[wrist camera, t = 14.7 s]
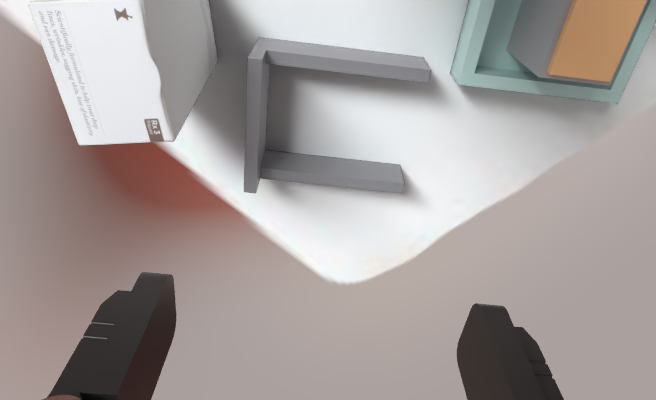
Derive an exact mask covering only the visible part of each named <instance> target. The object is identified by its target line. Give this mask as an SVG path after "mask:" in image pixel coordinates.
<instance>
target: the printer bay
mask: <svg viewBox="0 0 656 400" xmlns="http://www.w3.org/2000/svg"><path fill="white" fill-rule="evenodd" d="M270 64H274V65H282V66H291V67H299V68H307V69H316V70H324V71H332V72H341V73H349V74H358V75H366V76H374V77H383V78H391V79H399V80H408V81H416V82H424V83H428V81H429V77H430V72H431V69H430V68H429V66H428V64H427V63H426V61H425V59H424V58H423V57H416V56H408V55H400V54H392V53H384V52H375V51H367V50H359V49H351V48H343V47H335V46H326V45H318V44H310V43H302V42H294V41H286V40H278V39H269V38H261V37H259V38H258V40H257V41H256V43H255V45H254V47H253V49H252V51H251V53H250V55H249V56H248V66H247V100H246V134H245V168H244V192H249V193H256V191H257V188H258V184H259V180H260V178H262V179H272V180H281V181H291V182H300V183H310V184H319V185H329V186H338V187H348V188H357V189H367V190H376V191H386V192H395V193H402V191H403V187H404V180H403V177H402V173H401V169H400V165H398V164H389V163H380V162H371V161H361V160H352V159H343V158H334V157H325V156H315V155H306V154H297V153H288V152H279V151H269V150H265V144H266V125H267V107H268V88H269V70H270Z"/></svg>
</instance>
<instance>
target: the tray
mask: <svg viewBox="0 0 656 400" xmlns="http://www.w3.org/2000/svg"><path fill="white" fill-rule="evenodd" d="M521 2H522V0H469V2H468V6H467V9H466V13H465V17H464V21H463V25H462V29H461V33H460V37H459V40H458V44H457V48H456V52H455V56H454V60H453V64H452V68H451V71H450V74H451V75H452V76H453V78H454V79H455V81H456V82H457V84H458V85H466V86H474V87H482V88H491V89H499V90H507V91H516V92H524V93H532V94H541V95H549V96H558V97H566V98H574V99H583V100H591V101H599V102H608V103H616V104H618V101H619V99H620V97H621V95H622V93H623V91H624V88H625V86H626V84H627V82H628V80H629V78H630V75H631V73H632V71H633V69H634V67H635V65H636V62H637V60H638V58H639V56H640V54H641V52H642V50H643V47H644V45H645V43H646V41H647V39H648V37H649V34H650V32H651V30H652V28H653V26H654V24H655V21H656V0H648V1H647V3H646V5H645V7H644V10H643V12H642V14H641V16H640V18H639V21H638V23H637V25H636V27H635V30H634V32H633V34H632V36H631V39H630V41H629V43H628V45H627V48H626V50H625V52H624V54H623V56H622V59H621V61H620V63H619V65H618V68H617V70H616V72H615V74H614V77H613V79H612V81H611V83H610V86H605V85H597V84H589V83H581V82H573V81H565V80H557V79H549V78H541V77H538V76H537V75H535V74H534V73H533V72H532V71H531V70H529V69H528V68H527V67H526V66H525V65H523V64H522V63H521V62H520V61H519V60H517V59H516V58H515V57H514V56H513V55H512V54H510V53H509V52H508V51H507V50H506V49H507V46H508V43H509V40H510V36H511V33H512V30H513V27H514V24H515V21H516V17H517V14H518V11H519V8H520V5H521Z"/></svg>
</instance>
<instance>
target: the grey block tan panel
mask: <svg viewBox="0 0 656 400" xmlns="http://www.w3.org/2000/svg"><path fill="white" fill-rule="evenodd" d="M647 1H648V0H522V2H521V5H520V8H519V11H518V14H517V17H516V21H515V24H514V27H513V30H512V33H511V36H510V40H509V43H508V46H507V49H506V50H507V51H508V52H509V53H510V54H512V55H513V56H514V57H515V58H516V59H517V60H519V61H520V62H521V63H522V64H523V65H525V66H526V67H527V68H528V69H529V70H531V71H532V72H533V73H534V74H535V75H537V76H538V77H541V78H549V79H557V80H565V81H573V82H581V83H589V84H597V85H605V86H610V83H611V81H612V79H613V77H614V74H615V72H616V70H617V68H618V65H619V63H620V61H621V59H622V56H623V54H624V52H625V50H626V48H627V45H628V43H629V41H630V39H631V36H632V34H633V32H634V30H635V27H636V25H637V23H638V21H639V18H640V16H641V14H642V12H643V10H644V7H645V5H646V3H647Z"/></svg>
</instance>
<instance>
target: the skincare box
mask: <svg viewBox="0 0 656 400" xmlns="http://www.w3.org/2000/svg"><path fill="white" fill-rule="evenodd" d="M28 7H29V10H30V13H31V16H32V19H33V21H34V24H35V27H36V29H37V32H38V35H39V37H40V40H41V43H42V46H43V48H44V51H45V54H46V57H47V59H48V62H49V65H50V67H51V70H52V73H53V76H54V79H55V81H56V84H57V87H58V89H59V92H60V95H61V98H62V100H63V103H64V106H65V108H66V111H67V114H68V117H69V119H70V122H71V125H72V127H73V130H74V133H75V136H76V139H77V141H78V144H79V145H101V144H119V143H142V142H173V141H175V139H176V137H177V135H178V133H179V132H180V130H181V128H182V126H183V124H184V122H185V120H186V119H187V117H188V115H189V113H190V111H191V109H192V108H193V106H194V104H195V102H196V100H197V99H198V97H199V95H200V93H201V91H202V89H203V88H204V86H205V84H206V82H207V80H208V78H209V76H210V75H211V73H212V71H213V69H214V67H215V66H216V64H217V63H218V58H217V51H216V44H215V38H214V32H213V25H212V19H211V13H210V7H209V0H32V1H30V2H28Z"/></svg>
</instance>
